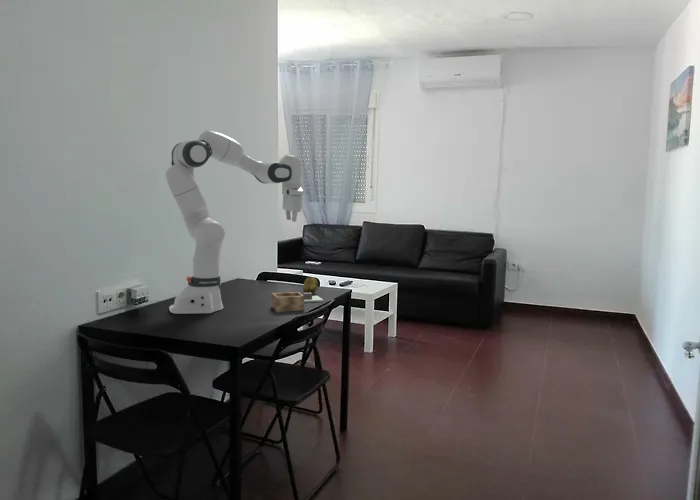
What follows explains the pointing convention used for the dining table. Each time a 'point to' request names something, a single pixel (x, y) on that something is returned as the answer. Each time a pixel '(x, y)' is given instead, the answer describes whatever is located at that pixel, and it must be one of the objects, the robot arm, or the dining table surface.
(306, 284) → the potato
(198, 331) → the dining table surface
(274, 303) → the box
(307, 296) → the lid
